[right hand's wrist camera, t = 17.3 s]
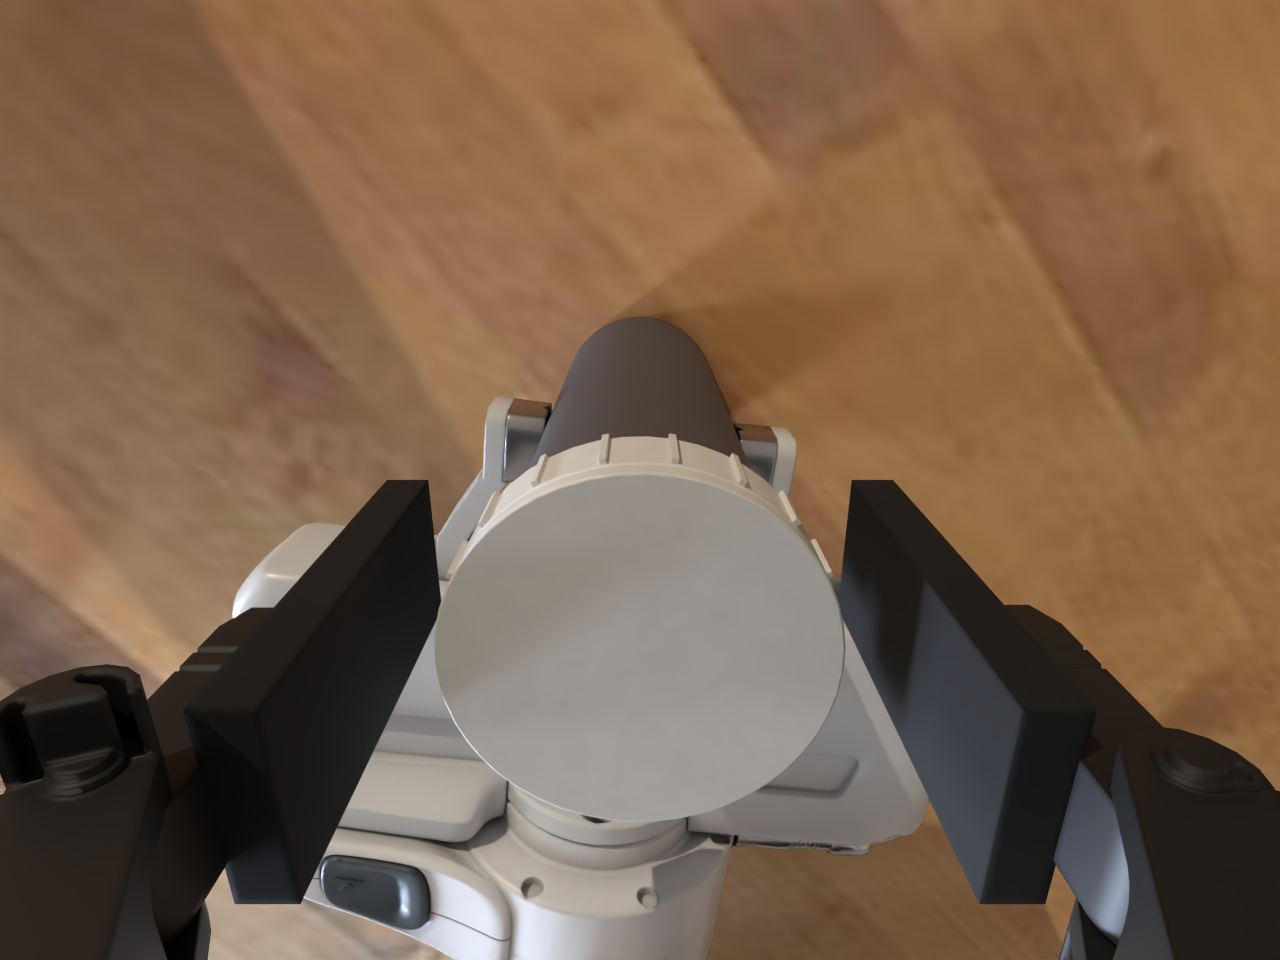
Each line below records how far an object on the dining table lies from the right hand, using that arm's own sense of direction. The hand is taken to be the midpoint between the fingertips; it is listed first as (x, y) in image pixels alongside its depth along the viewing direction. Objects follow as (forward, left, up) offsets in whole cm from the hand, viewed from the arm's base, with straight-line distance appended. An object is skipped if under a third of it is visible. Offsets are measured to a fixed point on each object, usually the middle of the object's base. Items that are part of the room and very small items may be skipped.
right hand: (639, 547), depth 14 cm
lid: (0, 0, +3) cm, 3 cm away
